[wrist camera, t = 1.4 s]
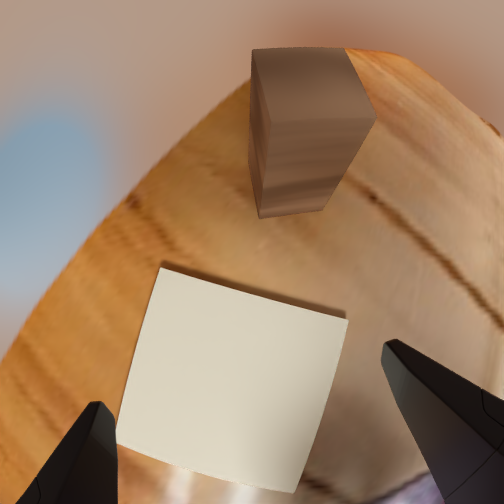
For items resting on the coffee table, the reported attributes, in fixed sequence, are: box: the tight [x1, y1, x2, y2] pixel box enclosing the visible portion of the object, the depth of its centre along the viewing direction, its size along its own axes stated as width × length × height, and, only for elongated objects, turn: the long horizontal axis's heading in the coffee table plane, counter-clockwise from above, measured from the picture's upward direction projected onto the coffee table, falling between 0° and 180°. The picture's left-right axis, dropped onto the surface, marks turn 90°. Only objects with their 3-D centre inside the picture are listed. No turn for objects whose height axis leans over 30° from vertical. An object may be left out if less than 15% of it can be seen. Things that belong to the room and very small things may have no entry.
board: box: [116, 267, 349, 493], centre depth 21 cm, size 14×14×1 cm
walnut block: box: [248, 47, 377, 219], centre depth 19 cm, size 5×5×12 cm
